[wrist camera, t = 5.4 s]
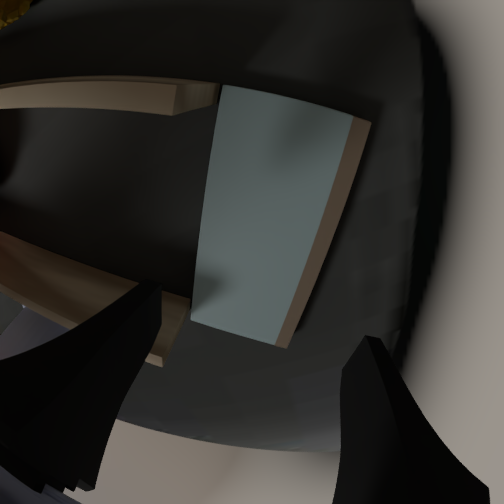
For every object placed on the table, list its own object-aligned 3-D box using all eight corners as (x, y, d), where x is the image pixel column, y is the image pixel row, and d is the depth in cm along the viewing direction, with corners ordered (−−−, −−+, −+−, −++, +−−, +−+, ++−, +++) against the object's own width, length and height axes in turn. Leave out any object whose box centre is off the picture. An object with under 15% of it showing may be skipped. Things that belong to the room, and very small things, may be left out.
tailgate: (195, 311, 20) (288, 338, 19) (190, 320, 19) (286, 348, 18) (228, 84, 12) (368, 120, 12) (222, 84, 11) (371, 122, 11)
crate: (189, 309, 20) (162, 367, 15) (-30, 224, 21) (-61, 249, 16) (220, 83, 12) (176, 85, 8) (-45, 94, 13) (-85, 110, 9)
